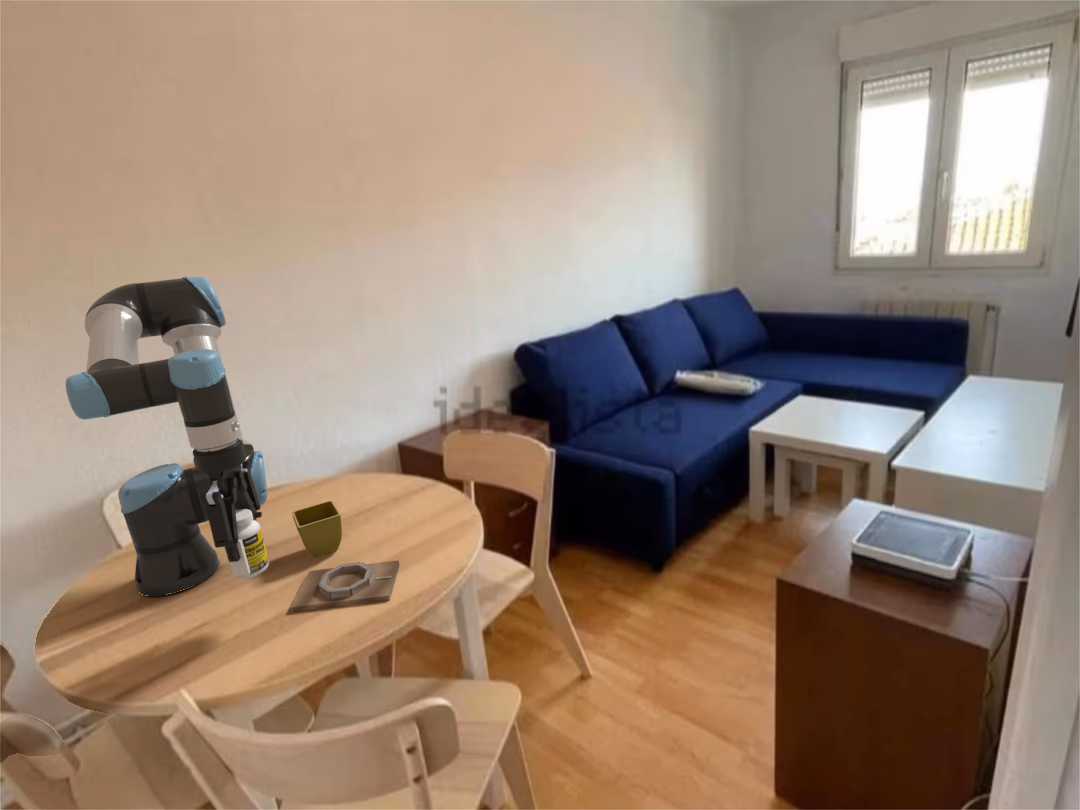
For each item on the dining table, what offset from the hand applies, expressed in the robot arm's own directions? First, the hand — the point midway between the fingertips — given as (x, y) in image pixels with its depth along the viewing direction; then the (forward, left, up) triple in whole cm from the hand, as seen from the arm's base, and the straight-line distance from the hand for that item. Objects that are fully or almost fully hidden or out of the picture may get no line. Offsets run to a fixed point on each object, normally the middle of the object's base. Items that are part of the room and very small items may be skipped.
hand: (249, 562), depth 106 cm
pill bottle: (0, 0, -2) cm, 2 cm away
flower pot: (+5, +21, -11) cm, 25 cm away
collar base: (+14, +5, -11) cm, 19 cm away
